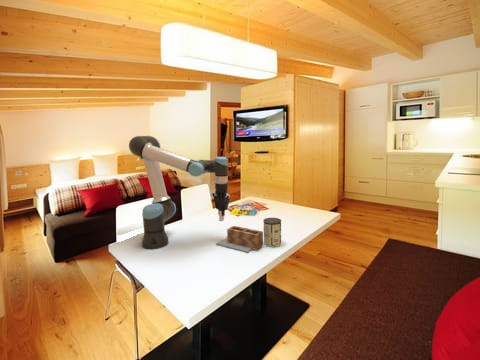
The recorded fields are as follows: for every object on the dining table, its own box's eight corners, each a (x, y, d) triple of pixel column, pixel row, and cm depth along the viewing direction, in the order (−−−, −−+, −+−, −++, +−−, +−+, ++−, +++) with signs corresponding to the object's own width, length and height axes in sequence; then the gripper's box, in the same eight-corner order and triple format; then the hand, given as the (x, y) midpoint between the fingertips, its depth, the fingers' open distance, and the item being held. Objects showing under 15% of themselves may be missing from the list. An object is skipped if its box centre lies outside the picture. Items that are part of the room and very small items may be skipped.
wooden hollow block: (263, 244, 153) (262, 231, 151) (256, 249, 147) (256, 235, 146) (234, 238, 164) (233, 225, 163) (227, 242, 158) (227, 229, 157)
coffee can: (270, 238, 165) (270, 216, 162) (284, 242, 158) (284, 219, 155) (260, 243, 157) (259, 220, 155) (274, 248, 150) (274, 224, 148)
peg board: (216, 244, 157) (215, 234, 156) (232, 236, 170) (231, 226, 169) (247, 253, 145) (247, 241, 144) (262, 243, 158) (262, 232, 157)
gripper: (209, 182, 161) (209, 220, 165) (226, 184, 154) (226, 224, 158) (217, 180, 167) (217, 217, 171) (233, 183, 160) (233, 221, 164)
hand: (221, 220), depth 164 cm, fingers closed
